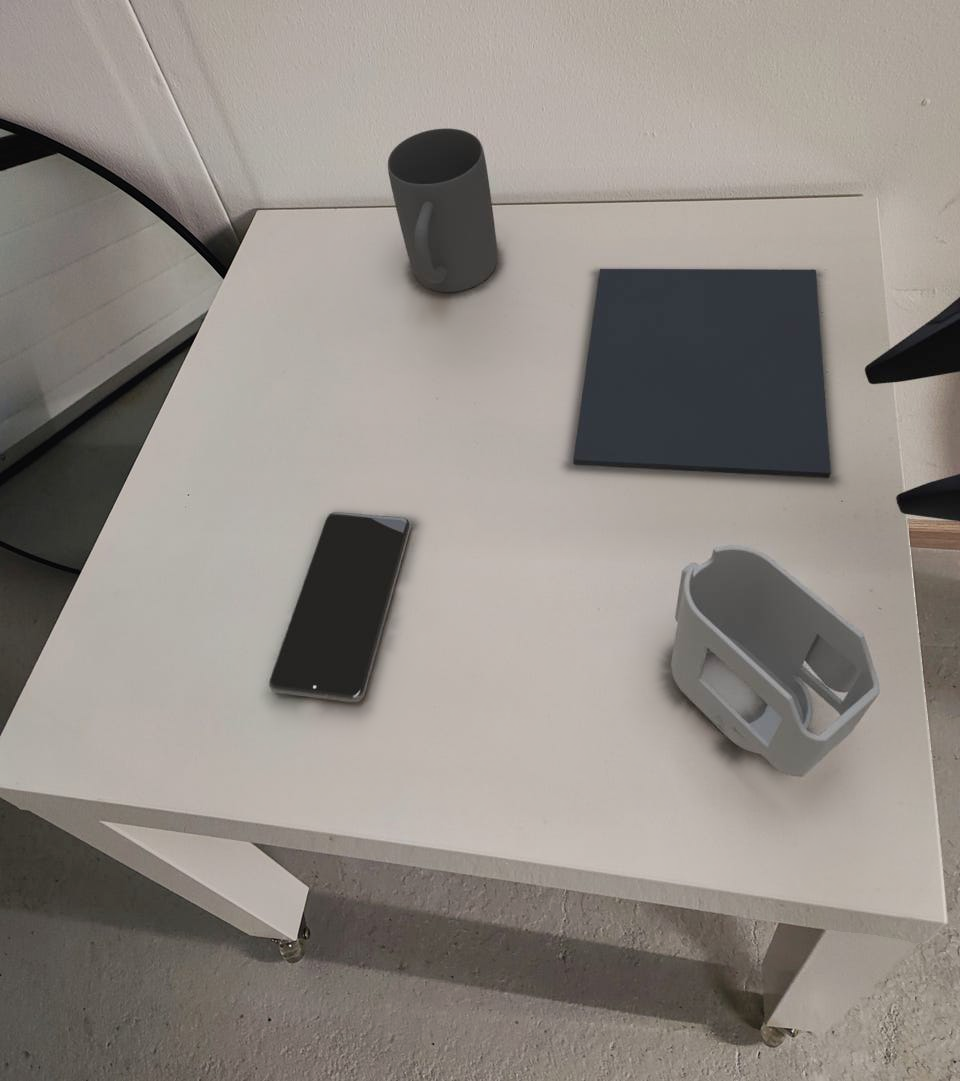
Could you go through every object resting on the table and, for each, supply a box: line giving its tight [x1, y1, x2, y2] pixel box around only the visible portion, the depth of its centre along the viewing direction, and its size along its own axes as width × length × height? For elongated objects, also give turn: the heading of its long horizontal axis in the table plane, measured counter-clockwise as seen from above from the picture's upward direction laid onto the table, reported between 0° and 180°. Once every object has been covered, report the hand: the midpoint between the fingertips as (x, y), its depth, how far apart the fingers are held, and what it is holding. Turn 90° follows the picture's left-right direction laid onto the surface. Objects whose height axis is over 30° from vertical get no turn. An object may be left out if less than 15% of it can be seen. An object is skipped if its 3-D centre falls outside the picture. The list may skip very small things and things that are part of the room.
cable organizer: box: [670, 545, 880, 778], centre depth 49 cm, size 7×12×12 cm, turn 37°
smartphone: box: [268, 511, 412, 703], centre depth 62 cm, size 7×1×16 cm
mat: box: [573, 268, 832, 478], centre depth 71 cm, size 20×24×1 cm
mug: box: [387, 127, 498, 293], centre depth 77 cm, size 14×9×12 cm
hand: (881, 435), depth 41 cm, fingers open, 9 cm apart
